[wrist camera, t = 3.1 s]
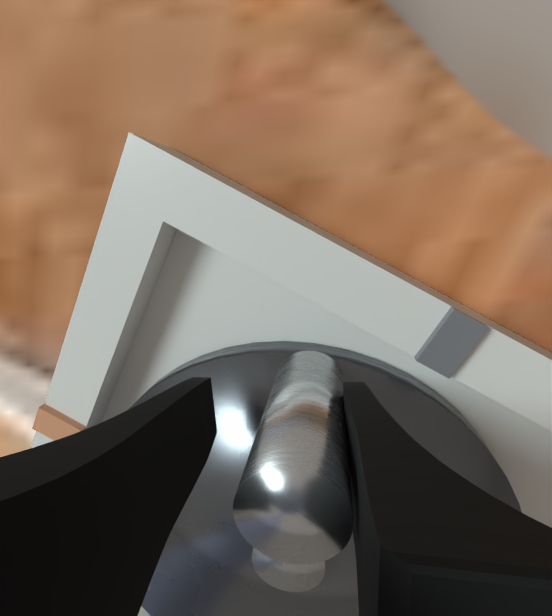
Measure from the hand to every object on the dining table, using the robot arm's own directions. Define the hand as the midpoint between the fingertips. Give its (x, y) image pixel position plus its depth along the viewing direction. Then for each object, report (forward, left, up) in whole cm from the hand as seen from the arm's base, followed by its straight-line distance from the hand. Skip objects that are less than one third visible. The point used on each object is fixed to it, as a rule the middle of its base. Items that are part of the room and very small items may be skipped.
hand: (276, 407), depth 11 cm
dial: (-7, -4, -3) cm, 8 cm away
